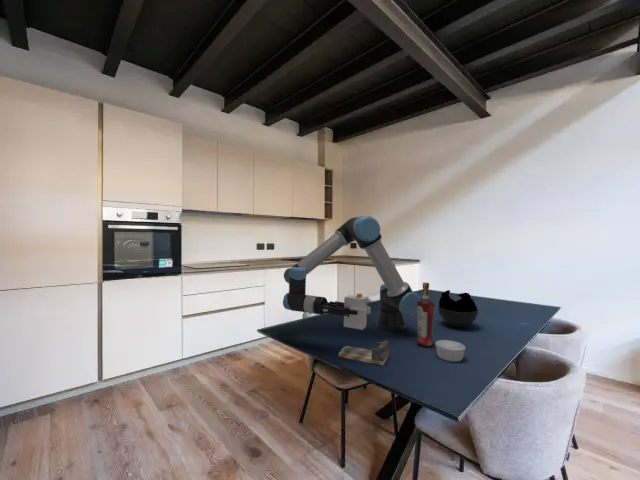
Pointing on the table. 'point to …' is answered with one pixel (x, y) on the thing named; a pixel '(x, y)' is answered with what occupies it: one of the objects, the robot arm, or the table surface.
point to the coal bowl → (457, 310)
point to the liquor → (425, 318)
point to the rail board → (367, 353)
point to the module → (356, 303)
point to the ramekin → (450, 350)
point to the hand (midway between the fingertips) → (368, 311)
